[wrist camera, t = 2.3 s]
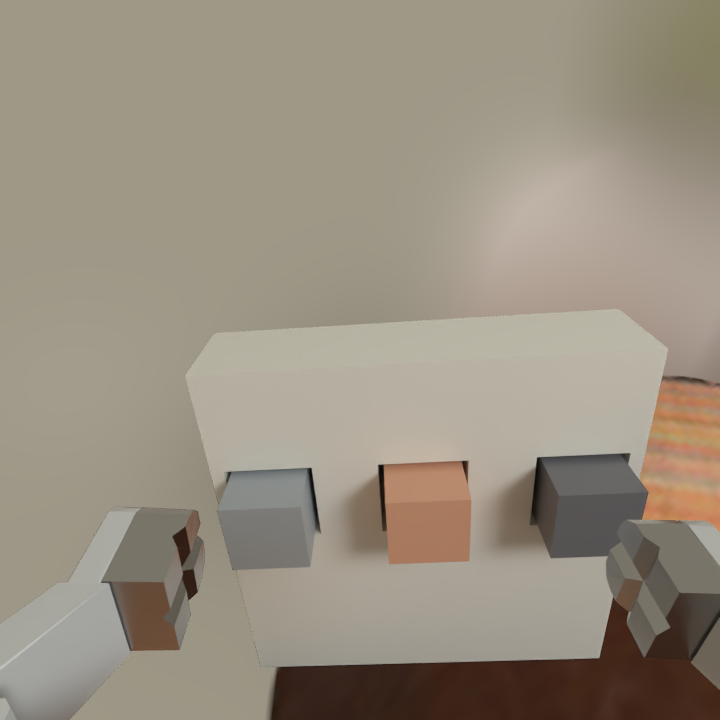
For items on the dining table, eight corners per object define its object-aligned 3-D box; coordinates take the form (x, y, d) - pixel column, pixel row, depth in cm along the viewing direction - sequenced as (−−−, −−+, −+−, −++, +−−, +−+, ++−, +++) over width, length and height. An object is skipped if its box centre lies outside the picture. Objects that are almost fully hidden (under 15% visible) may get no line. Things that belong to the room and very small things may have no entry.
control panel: (599, 658, 32) (668, 348, 22) (260, 667, 33) (185, 375, 23) (571, 591, 37) (618, 308, 27) (273, 600, 38) (214, 333, 28)
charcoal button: (633, 555, 25) (648, 492, 23) (550, 558, 25) (559, 495, 23) (599, 498, 28) (610, 440, 26) (527, 501, 28) (533, 444, 27)
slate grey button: (310, 567, 25) (300, 506, 24) (232, 570, 26) (216, 510, 24) (317, 510, 29) (309, 454, 27) (249, 513, 29) (237, 458, 27)
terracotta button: (469, 561, 25) (471, 499, 23) (389, 564, 25) (385, 503, 23) (457, 504, 29) (457, 447, 27) (386, 507, 29) (383, 451, 27)
